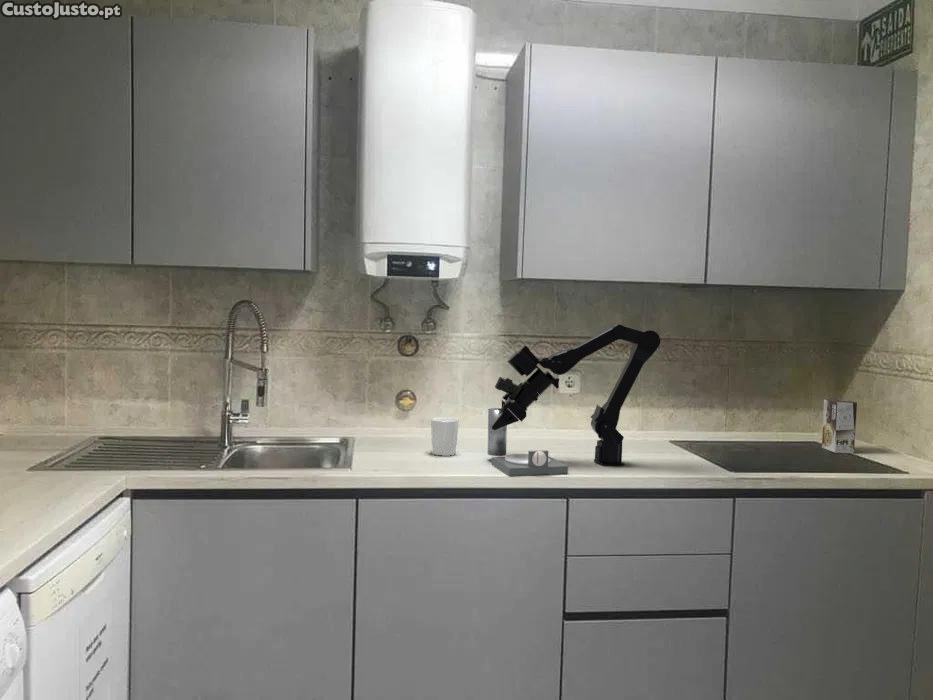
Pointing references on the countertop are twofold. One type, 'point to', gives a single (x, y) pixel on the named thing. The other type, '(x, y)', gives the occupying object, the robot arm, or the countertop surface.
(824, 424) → the coffee box
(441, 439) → the white cup
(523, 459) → the scale
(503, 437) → the metal canister
